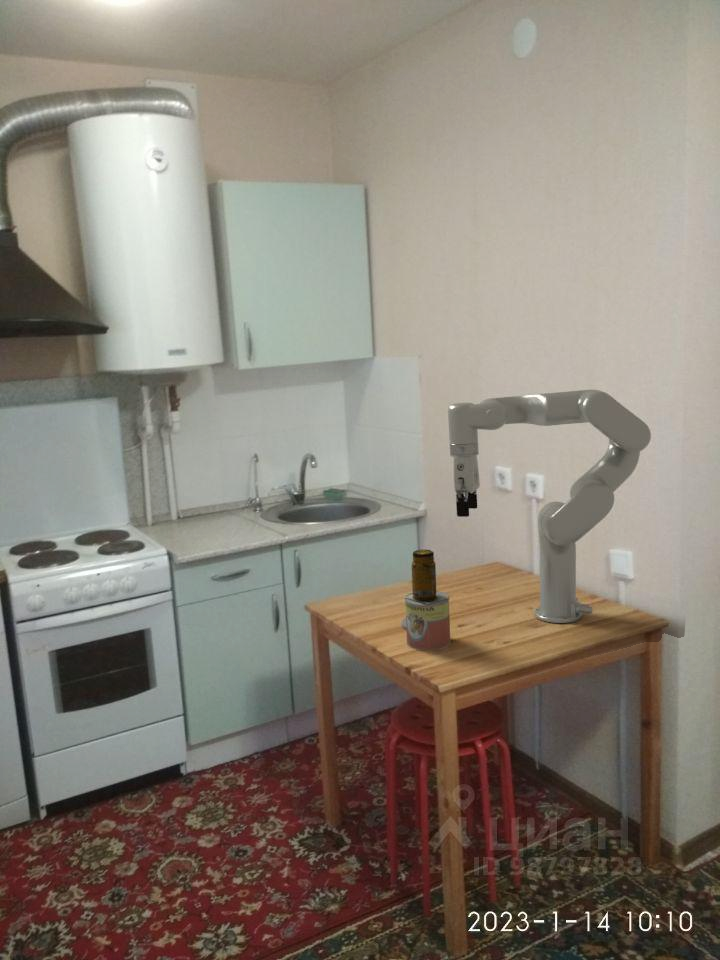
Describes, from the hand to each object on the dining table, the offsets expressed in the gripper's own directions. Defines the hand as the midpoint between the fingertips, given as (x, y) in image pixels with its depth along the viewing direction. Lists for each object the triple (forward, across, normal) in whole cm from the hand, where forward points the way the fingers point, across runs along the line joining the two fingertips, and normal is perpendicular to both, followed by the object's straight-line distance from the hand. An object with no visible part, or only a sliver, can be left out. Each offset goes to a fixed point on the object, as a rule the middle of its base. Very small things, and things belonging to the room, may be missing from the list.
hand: (467, 512), depth 213 cm
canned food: (+30, -20, +7) cm, 37 cm away
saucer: (+30, -9, +12) cm, 33 cm away
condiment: (+18, -20, +7) cm, 28 cm away
